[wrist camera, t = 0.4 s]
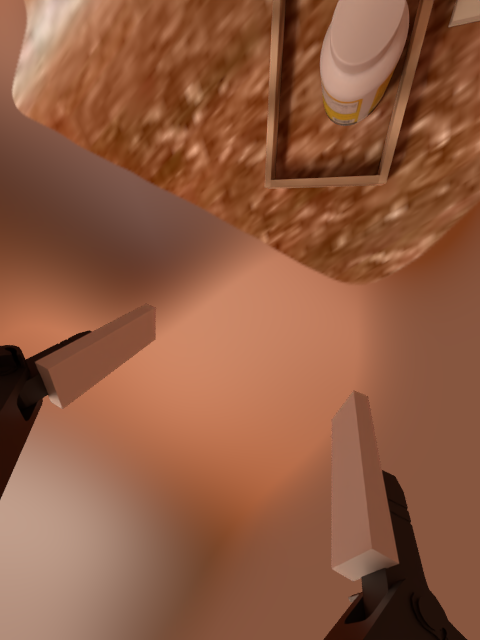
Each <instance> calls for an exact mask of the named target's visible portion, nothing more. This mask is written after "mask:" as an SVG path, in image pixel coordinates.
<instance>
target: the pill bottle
mask: <svg viewBox="0 0 480 640" xmlns="http://www.w3.org/2000/svg"><path fill="white" fill-rule="evenodd" d="M408 28H409V10H408V4H407V1H406V0H339V1H338V4H337V6H336V9H335V12H334V15H333V18H332V22H331V24H330V26H329V28H328V30H327V33H326V36H325V38H324V42H323V46H322V50H321V57H320V73H321V84H322V94H323V103H324V108H325V111H326V114H327V116H328V117H329V118H330V120H331V121H333V122H334V123H336V124H338V125H343V126H348V125H352V124H355V123H358V122H360V121H361V120H363V119H364V118H366V117H367V116H368V115H369V114H370V113H371V112H372V111H373V110H374V109H375V107H376V106H377V105H378V103H379V102H380V100H381V98H382V96H383V95H384V92H385V90H386V88H387V86H388V83H389V81H390V79H391V77H392V75H393V72H394V70H395V68H396V65H397V63H398V61H399V59H400V56H401V54H402V51H403V48H404V45H405V42H406V39H407V34H408Z"/></svg>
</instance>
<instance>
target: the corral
mask: <svg viewBox="0 0 480 640" xmlns="http://www.w3.org/2000/svg"><path fill="white" fill-rule="evenodd" d="M433 2H434V0H420V1H419V5H418V9H417V13H416V17H415V21H414V26H413V30H412V34H411V38H410V42H409V46H408V50H407V54H406V58H405V63H404V67H403V71H402V75H401V79H400V83H399V87H398V91H397V96H396V100H395V104H394V108H393V112H392V116H391V120H390V124H389V129H388V133H387V137H386V141H385V145H384V149H383V153H382V157H381V162H380V166H379V170H378V174H377V175H374V176H352V177H329V178H307V179H285V180H275V171H276V154H277V138H278V122H279V105H280V89H281V73H282V56H283V40H284V24H285V7H286V0H273V8H272V31H271V54H270V77H269V100H268V123H267V146H266V169H265V187H266V188H269V189H273V188H304V187H335V186H367V185H383V184H385V183H386V181H387V177H388V174H389V170H390V166H391V162H392V158H393V155H394V151H395V147H396V143H397V139H398V136H399V132H400V128H401V124H402V120H403V116H404V113H405V109H406V105H407V101H408V97H409V94H410V90H411V86H412V82H413V78H414V74H415V71H416V67H417V63H418V59H419V55H420V52H421V48H422V44H423V40H424V36H425V32H426V29H427V25H428V21H429V17H430V13H431V10H432V6H433Z"/></svg>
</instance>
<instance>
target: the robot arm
mask: <svg viewBox="0 0 480 640" xmlns="http://www.w3.org/2000/svg"><path fill="white" fill-rule="evenodd" d="M155 310H156V309H155V307H153V306H151V305H148V304H144V305H143V306H141V307H139V308H137V309H135V310H133V311H131V312H129V313H127V314H125V315H123V316H122V317H120V318H118V319H116V320H114V321H112V322H110V323H108V324H106V325H104V326H103V327H100V328H99V329H97V330H95V331H93V332H92V331H86V332H82V333H78V334H76V335H74V336H72V337H70V338H69V339H68V340H64V341H62V342H60V344H56V345H54V346H52V347H50V348H48V349H46V350H44V351H42V352H40V353H38V354H36V355H34V356H33V357H30V358H28V359H26V360H25V358H24V355H23V353H22V351H21V349H20V348H19V347H17V346H13V345H5V346H0V499H1V497H2V494H3V492H4V490H5V487H6V485H7V483H8V481H9V478H10V476H11V474H12V472H13V469H14V467H15V465H16V462H17V460H18V458H19V455H20V453H21V451H22V449H23V447H24V444H25V442H26V440H27V437H28V435H29V433H30V431H31V428H32V426H33V424H34V421H35V419H36V417H37V415H38V412H39V410H40V408H41V406H42V402H43V400H42V398H43V397H45V396H47V395H49V398H50V401H51V402H52V403H53V404H55V405H57V406H58V407H60V408H62V409H63V408H65V407H66V406H67V405H69V404H70V403H71V402H73V401H74V400H75V399H77V398H78V397H79V396H81V395H82V394H83V393H85V392H86V391H87V390H89V389H90V388H91V387H93V386H94V385H95V384H96V383H98V382H99V381H101V380H102V379H103V378H105V377H106V376H107V375H108V374H110V373H111V372H112V371H114V370H115V369H117V368H118V367H119V366H120V365H122V364H123V363H125V362H126V361H127V360H129V359H130V358H131V357H133V356H134V355H135V354H136V353H138V352H139V351H140V350H142V349H143V348H144V347H146V346H147V345H148V344H150V343H151V342H152V341H154V340H155ZM410 522H411V520H410V516H409V512H408V511H407V504H406V500H405V496H404V492H403V490H402V488H401V486H400V484H399V483H398V481H397V479H396V477H395V476H393V475H391V474H389V473H387V472H385V471H383V470H382V469H381V464H380V458H379V453H378V448H377V442H376V437H375V432H374V426H373V422H372V416H371V410H370V405H369V400H368V396H366V395H363V394H361V393H358V392H356V391H353V392H352V393H351V395H350V396H349V397H348V399H347V400H346V402H345V403H344V404H343V405H342V407H341V408H340V409H339V411H338V412H337V413H336V415H335V416H334V417H333V419H332V569H333V570H335V571H337V572H338V573H340V574H342V575H343V576H345V577H347V578H349V579H350V580H352V581H355V580H358V579H360V578H362V589H363V592H361V593H358V594H354V595H352V596H351V597H349V600H350V602H353V603H352V604H351V605H350V607H349V608H348V609H347V610H346V612H345V613H344V614H343V615H342V617H341V618H340V619H339V621H338V622H337V623H336V624H335V626H334V627H333V628H332V629H331V631H330V632H329V633H328V635H327V636H326V637H325V638H324V640H467V639H466V638H465V637H464V636H463V635H462V634H461V633H460V632H459V631H458V630H457V629H456V628H455V627H454V626H453V625H452V624H451V623H450V622H449V621H448V619H447V616H446V614H445V612H444V610H443V608H442V607H441V605H440V603H439V602H438V600H437V599H436V597H435V596H434V595H433V594H432V592H431V591H430V590H429V588H428V586H427V582H426V579H425V576H424V572H423V568H422V564H421V560H420V556H419V552H418V548H417V544H416V540H415V536H414V532H413V528H412V525H411V524H410Z"/></svg>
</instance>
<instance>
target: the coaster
mask: <svg viewBox="0 0 480 640" xmlns="http://www.w3.org/2000/svg"><path fill="white" fill-rule="evenodd" d="M475 21H480V0H456V2H455V6H454V9H453V12H452V16H451V19H450V23H449V26H448V27H452V26H457V25H462V24H466V23H471V22H475Z"/></svg>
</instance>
